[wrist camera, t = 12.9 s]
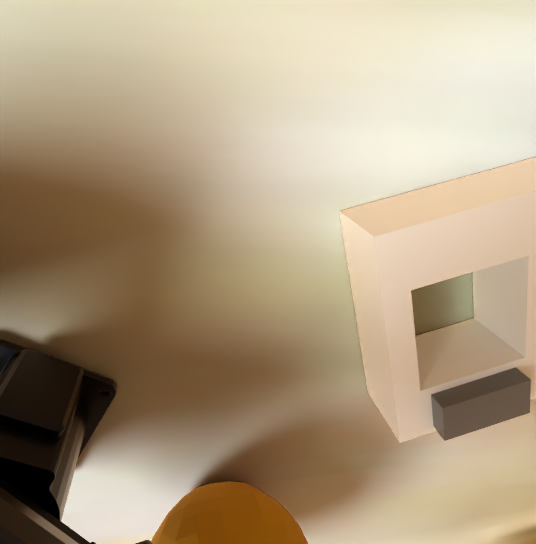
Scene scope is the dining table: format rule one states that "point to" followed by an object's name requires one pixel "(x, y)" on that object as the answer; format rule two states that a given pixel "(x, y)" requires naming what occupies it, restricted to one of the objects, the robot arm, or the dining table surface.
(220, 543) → the apple
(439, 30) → the dining table surface
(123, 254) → the dining table surface
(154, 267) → the dining table surface
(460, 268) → the socket board
